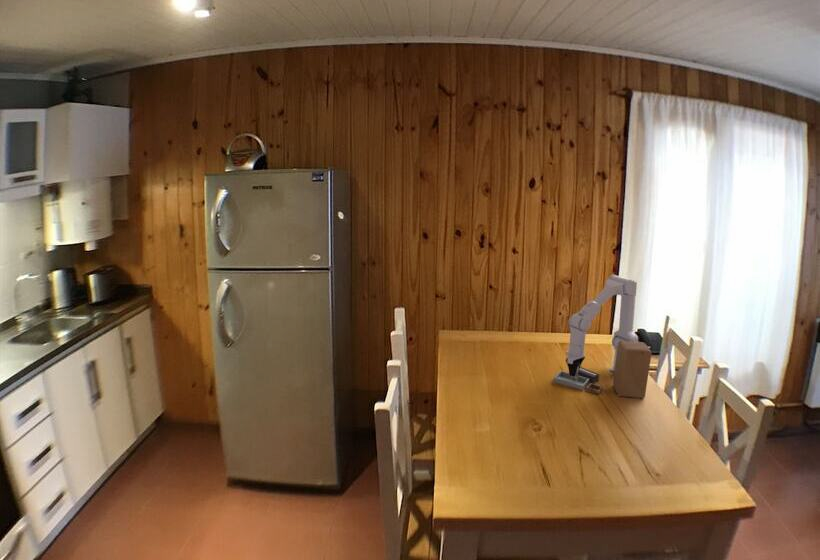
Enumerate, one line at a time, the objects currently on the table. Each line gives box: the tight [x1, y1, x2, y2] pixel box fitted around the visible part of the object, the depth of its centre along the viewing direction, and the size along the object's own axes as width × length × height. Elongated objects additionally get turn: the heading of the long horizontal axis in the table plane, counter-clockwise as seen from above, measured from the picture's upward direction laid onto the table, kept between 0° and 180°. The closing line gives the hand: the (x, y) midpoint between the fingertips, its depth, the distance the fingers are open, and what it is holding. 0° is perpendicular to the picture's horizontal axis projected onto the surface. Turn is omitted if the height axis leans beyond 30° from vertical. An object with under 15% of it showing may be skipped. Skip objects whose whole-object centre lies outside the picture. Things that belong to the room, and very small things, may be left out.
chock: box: [578, 366, 600, 384], centre depth 189 cm, size 9×4×4 cm, turn 37°
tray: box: [552, 370, 590, 392], centre depth 185 cm, size 12×8×2 cm
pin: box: [571, 364, 580, 381], centre depth 184 cm, size 3×3×7 cm
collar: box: [585, 383, 604, 395], centre depth 180 cm, size 5×5×2 cm
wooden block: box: [612, 341, 652, 399], centre depth 176 cm, size 10×10×20 cm
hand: (573, 374), depth 185 cm, fingers closed on pin, 3 cm apart
